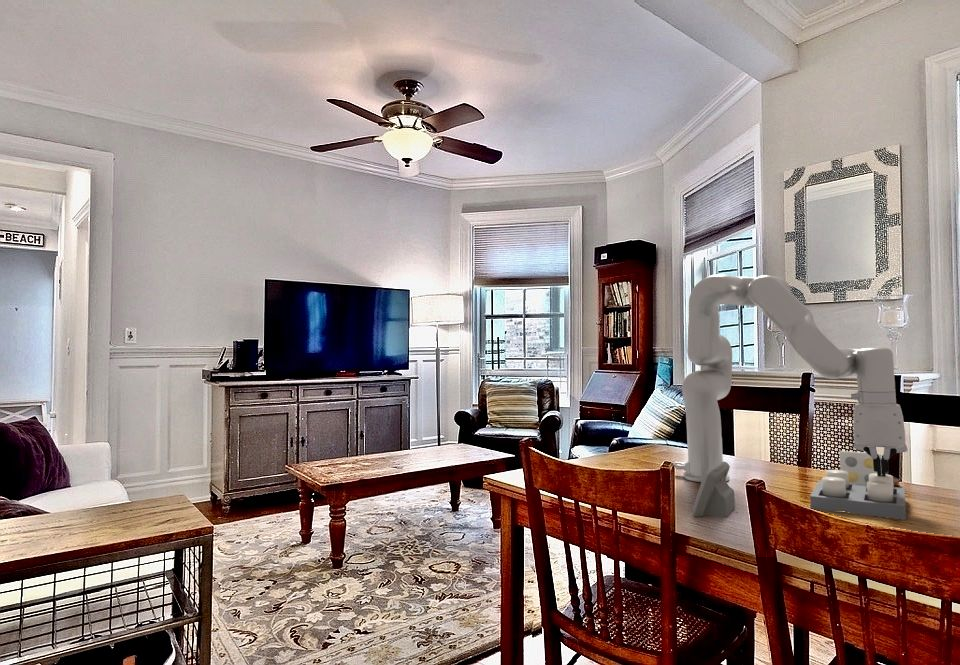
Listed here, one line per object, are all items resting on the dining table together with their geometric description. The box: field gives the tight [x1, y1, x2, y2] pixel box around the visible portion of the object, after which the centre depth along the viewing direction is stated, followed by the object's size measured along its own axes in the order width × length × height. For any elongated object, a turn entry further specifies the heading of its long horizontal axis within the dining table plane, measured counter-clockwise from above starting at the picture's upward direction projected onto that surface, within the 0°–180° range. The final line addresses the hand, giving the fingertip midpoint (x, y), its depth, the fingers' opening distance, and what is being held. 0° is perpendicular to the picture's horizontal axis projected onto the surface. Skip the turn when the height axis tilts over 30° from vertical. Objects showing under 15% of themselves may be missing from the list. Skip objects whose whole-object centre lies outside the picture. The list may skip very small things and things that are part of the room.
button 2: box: [825, 469, 849, 488], centre depth 143 cm, size 5×5×4 cm
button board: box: [809, 479, 907, 521], centre depth 137 cm, size 18×18×3 cm
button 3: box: [867, 481, 894, 502], centre depth 131 cm, size 5×5×4 cm
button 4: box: [869, 473, 895, 492], centre depth 138 cm, size 5×5×4 cm
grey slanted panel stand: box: [691, 461, 736, 518], centre depth 137 cm, size 16×9×11 cm, turn 132°
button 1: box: [821, 476, 846, 497], centre depth 136 cm, size 5×5×4 cm
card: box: [839, 450, 882, 485], centre depth 148 cm, size 10×3×10 cm, turn 54°
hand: (881, 474), depth 138 cm, fingers closed
